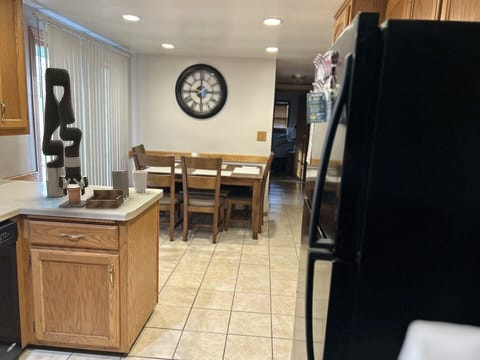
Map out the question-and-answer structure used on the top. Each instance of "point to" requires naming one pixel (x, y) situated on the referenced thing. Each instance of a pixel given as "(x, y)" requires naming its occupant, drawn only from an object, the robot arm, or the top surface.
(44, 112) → the robot arm
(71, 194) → the flowerpot
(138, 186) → the foam cup
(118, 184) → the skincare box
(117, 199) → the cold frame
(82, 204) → the slate mat
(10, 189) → the top surface
